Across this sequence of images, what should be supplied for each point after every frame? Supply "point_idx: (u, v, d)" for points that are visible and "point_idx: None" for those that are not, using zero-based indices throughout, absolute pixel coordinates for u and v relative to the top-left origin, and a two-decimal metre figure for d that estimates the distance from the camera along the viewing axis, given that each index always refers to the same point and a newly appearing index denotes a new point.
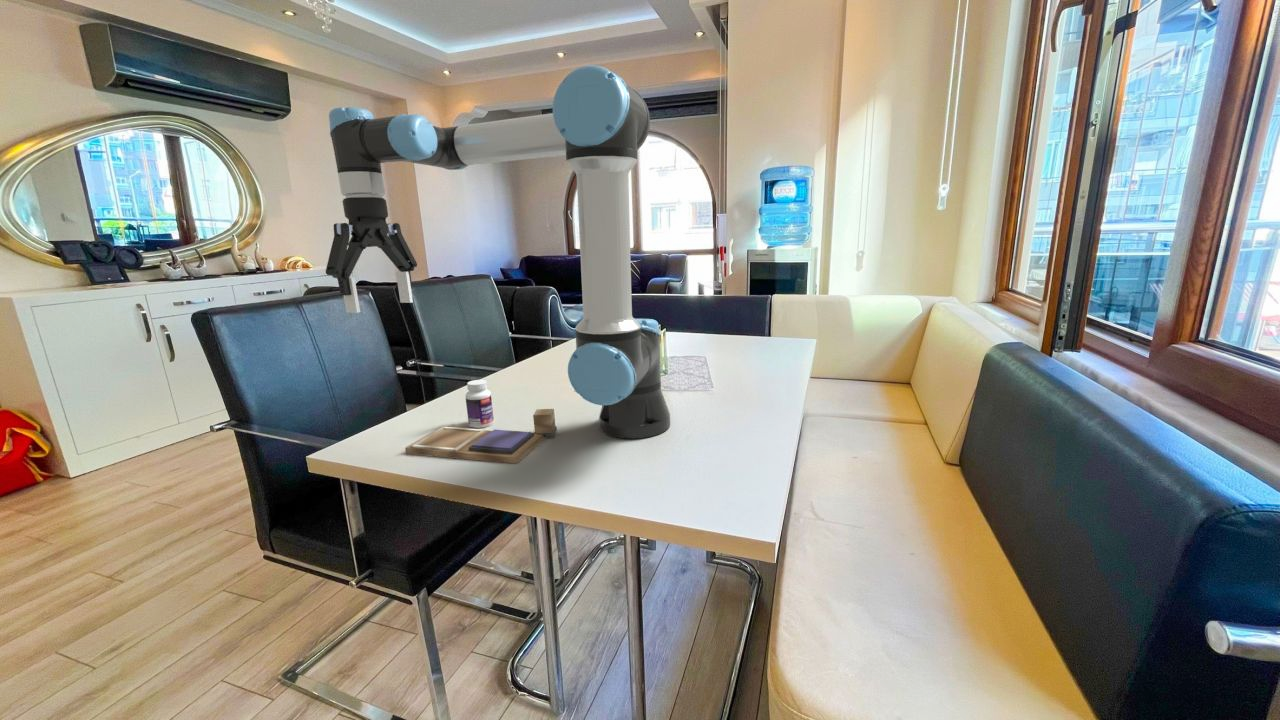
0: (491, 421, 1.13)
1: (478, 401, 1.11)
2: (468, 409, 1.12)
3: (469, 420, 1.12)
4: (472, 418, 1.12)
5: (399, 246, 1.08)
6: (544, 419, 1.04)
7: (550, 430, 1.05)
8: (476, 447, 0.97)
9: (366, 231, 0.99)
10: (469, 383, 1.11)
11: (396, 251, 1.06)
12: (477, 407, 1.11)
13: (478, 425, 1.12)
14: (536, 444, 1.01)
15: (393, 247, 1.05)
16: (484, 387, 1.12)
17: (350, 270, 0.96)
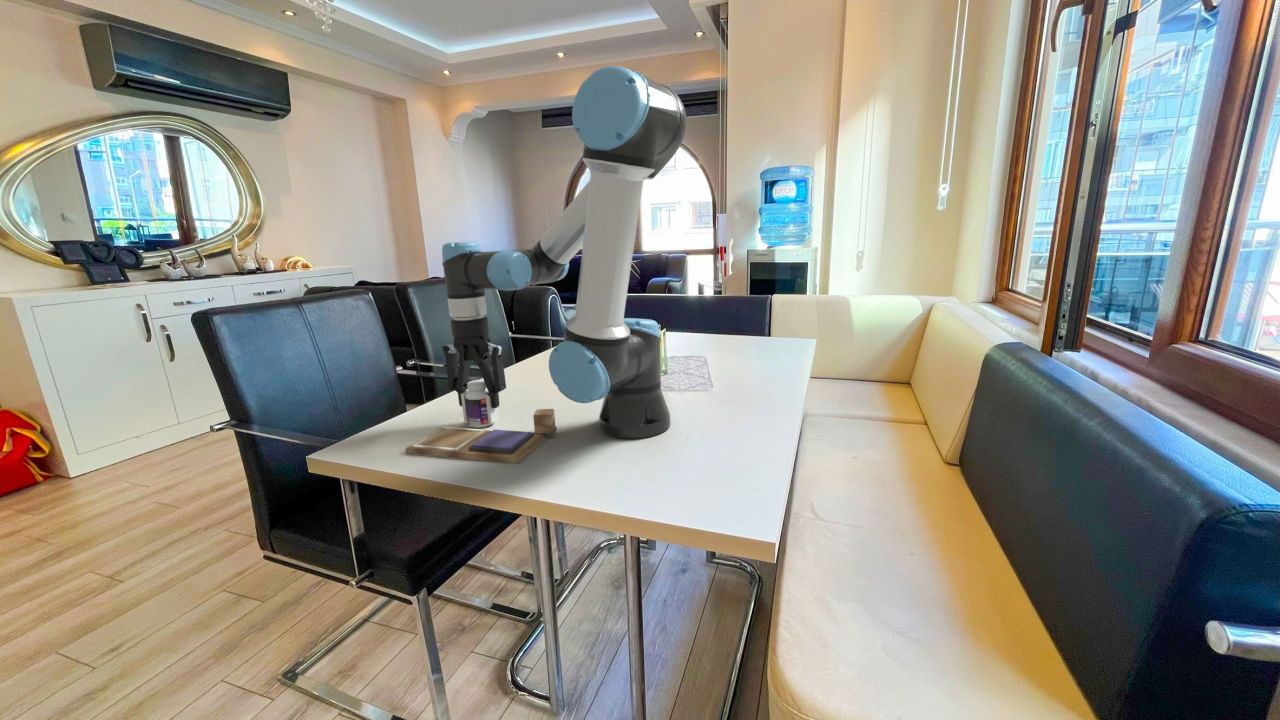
0: None
1: (478, 400, 1.11)
2: (468, 409, 1.12)
3: (469, 420, 1.12)
4: (472, 418, 1.12)
5: None
6: (544, 419, 1.04)
7: (550, 430, 1.05)
8: (476, 447, 0.97)
9: None
10: (469, 383, 1.11)
11: (483, 371, 1.10)
12: (477, 407, 1.11)
13: (478, 425, 1.12)
14: (536, 444, 1.01)
15: (482, 367, 1.09)
16: (484, 387, 1.12)
17: (459, 386, 1.12)
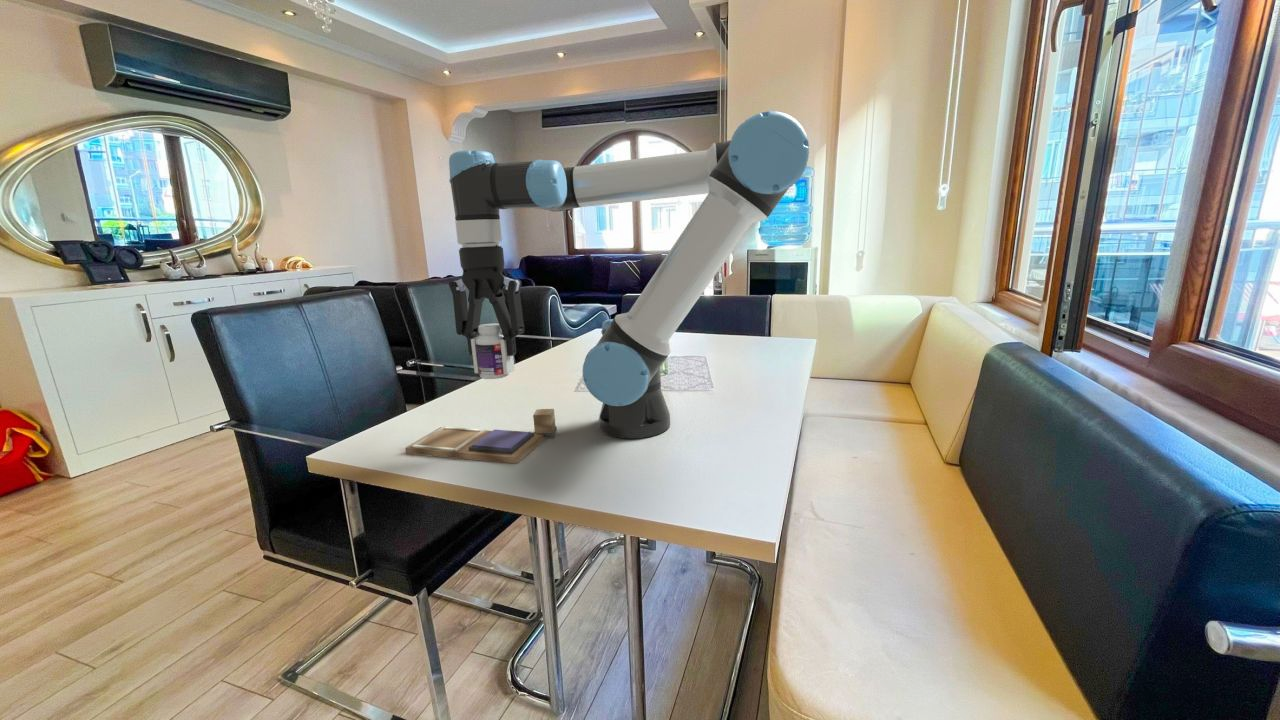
0: None
1: (491, 346, 0.93)
2: (479, 357, 0.94)
3: (480, 370, 0.95)
4: (484, 368, 0.94)
5: None
6: (544, 419, 1.04)
7: (550, 430, 1.05)
8: (476, 447, 0.97)
9: None
10: (480, 326, 0.94)
11: (498, 311, 0.92)
12: (490, 354, 0.93)
13: (491, 376, 0.94)
14: (536, 444, 1.01)
15: (496, 305, 0.92)
16: (498, 331, 0.94)
17: (469, 330, 0.95)
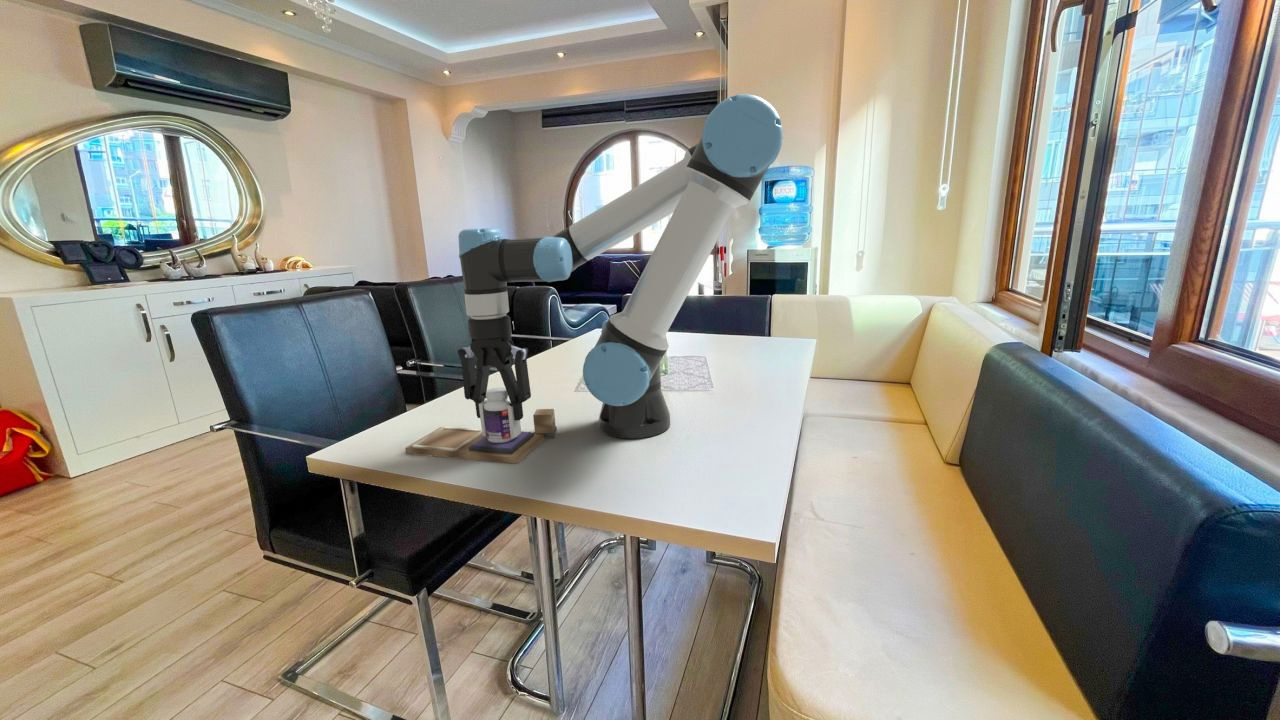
0: None
1: (499, 412, 0.96)
2: (487, 421, 0.97)
3: (488, 434, 0.98)
4: (491, 432, 0.97)
5: None
6: (544, 419, 1.04)
7: (550, 430, 1.05)
8: (476, 447, 0.97)
9: None
10: (488, 392, 0.97)
11: (505, 378, 0.95)
12: (497, 419, 0.96)
13: (499, 440, 0.97)
14: (536, 444, 1.01)
15: (504, 373, 0.95)
16: (505, 396, 0.97)
17: (477, 395, 0.98)
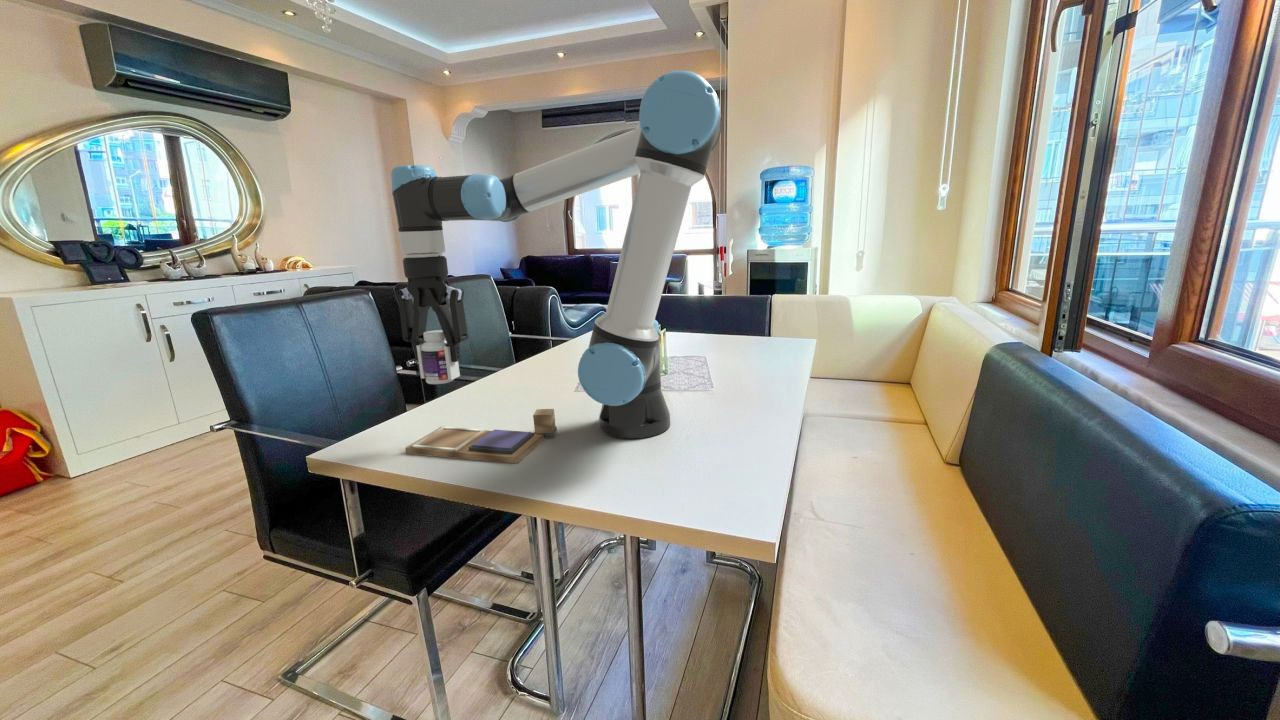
0: None
1: (435, 352, 0.97)
2: (424, 362, 0.98)
3: (426, 375, 0.98)
4: (428, 373, 0.98)
5: None
6: (544, 419, 1.04)
7: (550, 430, 1.05)
8: (476, 447, 0.97)
9: None
10: (425, 333, 0.97)
11: (441, 319, 0.96)
12: (434, 360, 0.97)
13: (436, 381, 0.98)
14: (536, 444, 1.01)
15: (439, 313, 0.96)
16: (442, 337, 0.98)
17: (415, 337, 0.98)
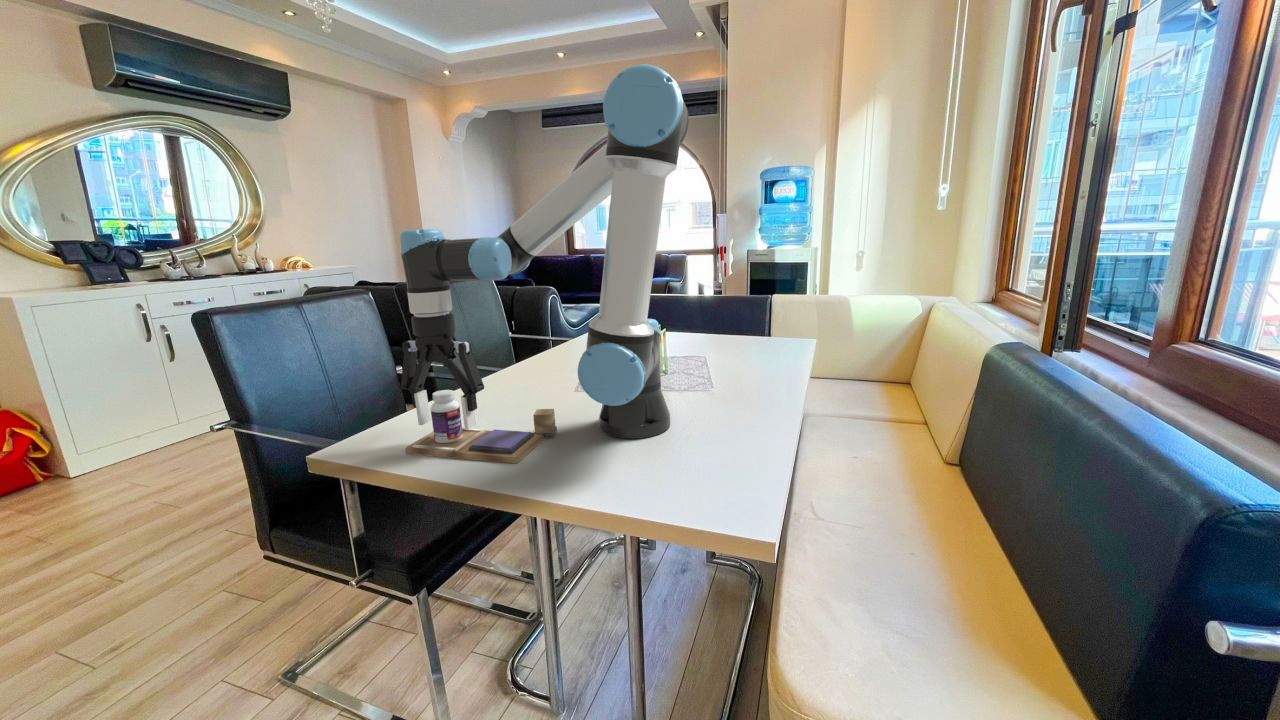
0: (459, 436, 1.02)
1: (444, 413, 0.99)
2: (433, 422, 1.01)
3: (435, 435, 1.01)
4: (437, 433, 1.01)
5: None
6: (544, 419, 1.04)
7: (550, 430, 1.05)
8: (476, 447, 0.97)
9: None
10: (434, 394, 1.00)
11: (454, 372, 0.98)
12: (443, 420, 1.00)
13: (445, 440, 1.01)
14: (536, 444, 1.01)
15: (451, 367, 0.98)
16: (451, 398, 1.01)
17: (414, 386, 1.01)
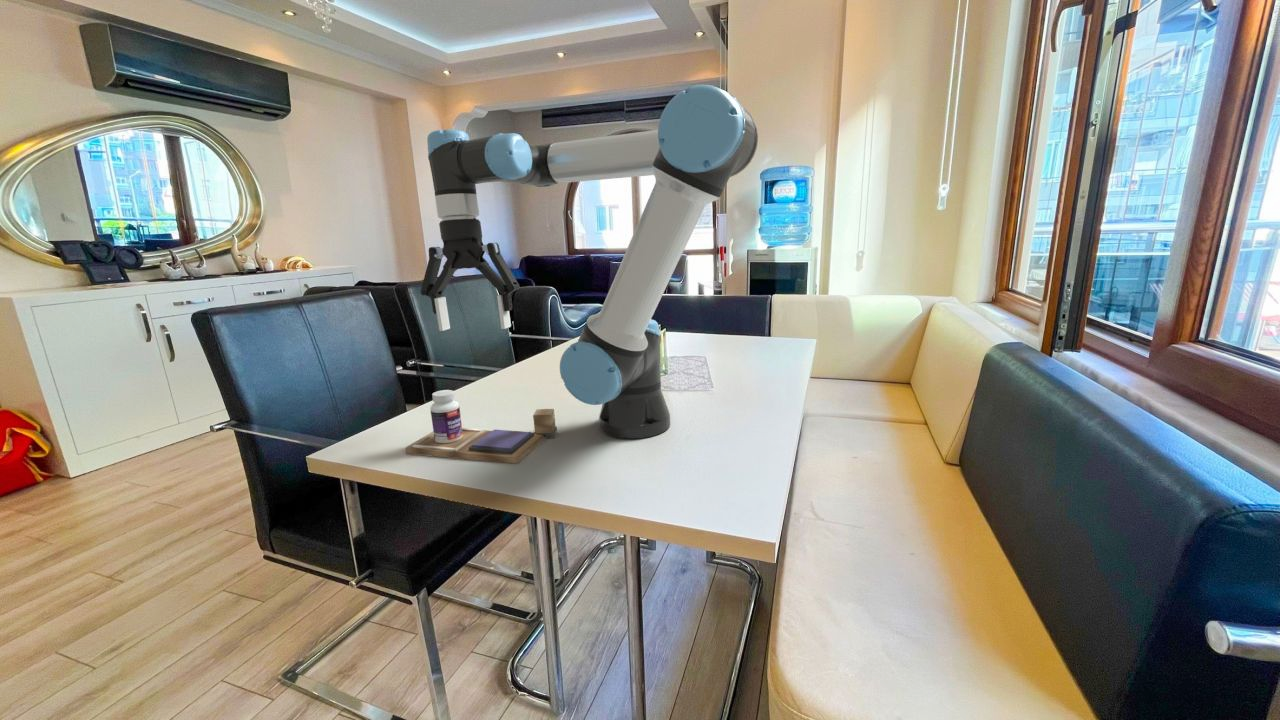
0: (459, 436, 1.02)
1: (444, 413, 0.99)
2: (433, 423, 1.01)
3: (435, 435, 1.01)
4: (437, 433, 1.01)
5: None
6: (544, 419, 1.04)
7: (550, 430, 1.05)
8: (476, 447, 0.97)
9: None
10: (434, 394, 1.00)
11: (486, 273, 0.99)
12: (443, 420, 1.00)
13: (445, 441, 1.01)
14: (536, 444, 1.01)
15: (483, 269, 0.99)
16: (451, 398, 1.01)
17: (434, 291, 1.02)
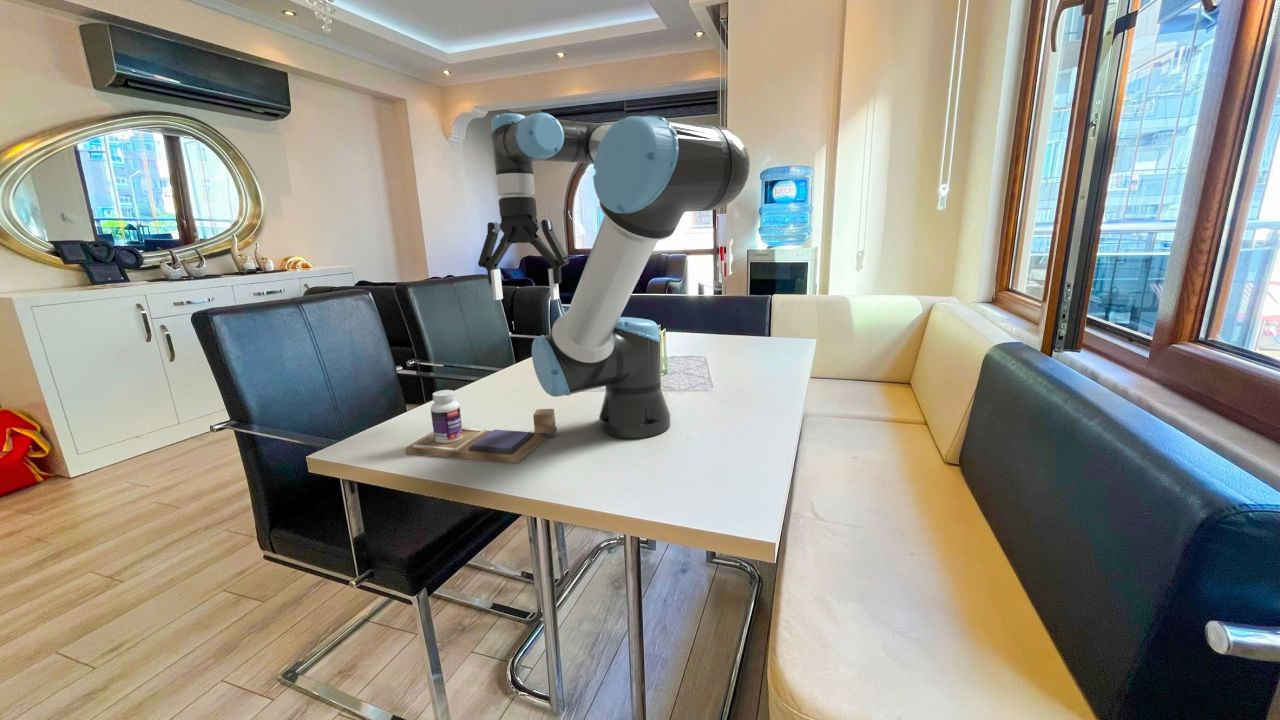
0: (459, 436, 1.02)
1: (444, 413, 0.99)
2: (433, 423, 1.01)
3: (435, 435, 1.01)
4: (437, 433, 1.01)
5: None
6: (544, 419, 1.04)
7: (550, 430, 1.05)
8: (476, 447, 0.97)
9: None
10: (434, 394, 1.00)
11: (540, 248, 1.07)
12: (443, 420, 1.00)
13: (445, 441, 1.01)
14: (536, 444, 1.01)
15: (536, 244, 1.07)
16: (451, 398, 1.01)
17: (491, 263, 1.11)
